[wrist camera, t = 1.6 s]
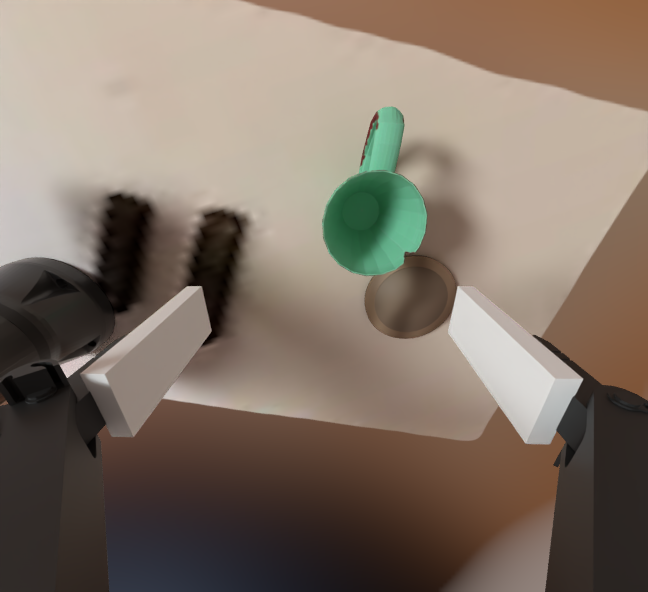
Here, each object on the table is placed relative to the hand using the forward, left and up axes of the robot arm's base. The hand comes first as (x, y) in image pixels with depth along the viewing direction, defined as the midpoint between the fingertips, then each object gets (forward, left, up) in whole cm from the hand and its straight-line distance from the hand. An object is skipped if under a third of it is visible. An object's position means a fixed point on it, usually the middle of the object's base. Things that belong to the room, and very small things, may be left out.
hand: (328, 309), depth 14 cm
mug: (+5, +4, -23) cm, 24 cm away
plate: (+12, -11, -23) cm, 28 cm away
